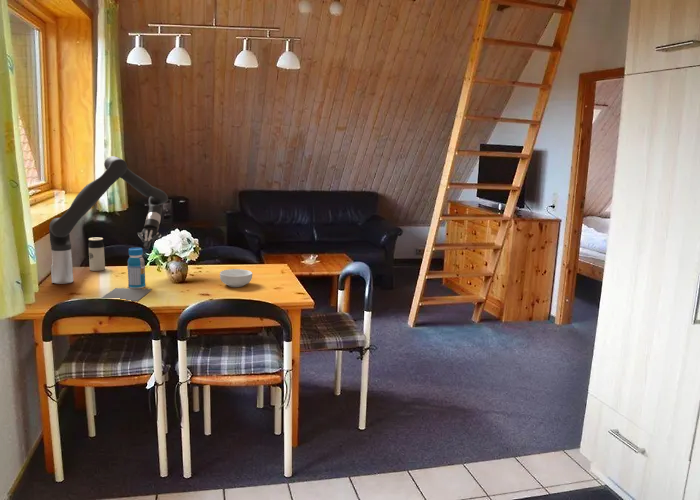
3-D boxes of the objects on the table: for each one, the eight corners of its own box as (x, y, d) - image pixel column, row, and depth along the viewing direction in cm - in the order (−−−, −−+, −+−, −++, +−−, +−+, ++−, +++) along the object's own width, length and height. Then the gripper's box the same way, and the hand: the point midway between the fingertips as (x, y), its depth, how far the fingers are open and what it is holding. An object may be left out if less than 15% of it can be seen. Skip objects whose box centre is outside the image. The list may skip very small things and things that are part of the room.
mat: (98, 300, 272) (98, 299, 272) (115, 289, 293) (115, 288, 293) (137, 301, 273) (137, 300, 273) (151, 290, 293) (151, 289, 293)
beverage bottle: (130, 289, 292) (129, 250, 288) (126, 286, 299) (124, 247, 295) (147, 287, 297) (146, 249, 293) (142, 284, 304) (141, 246, 300)
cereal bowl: (232, 291, 296) (232, 277, 295) (213, 285, 307) (213, 271, 306) (258, 285, 309) (258, 272, 307) (239, 279, 320) (239, 267, 318)
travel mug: (102, 267, 337) (100, 236, 334) (107, 270, 332) (105, 238, 328) (87, 269, 332) (86, 238, 329) (92, 271, 326) (91, 240, 323)
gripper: (138, 217, 317) (131, 243, 308) (163, 218, 318) (157, 244, 308) (142, 225, 324) (135, 251, 314) (166, 226, 324) (160, 252, 314)
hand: (146, 248), depth 311 cm, fingers closed
